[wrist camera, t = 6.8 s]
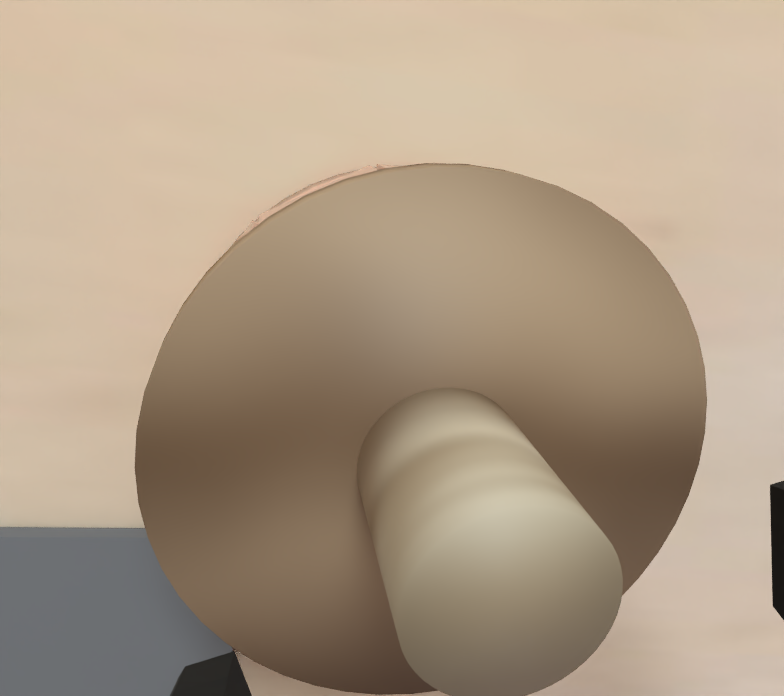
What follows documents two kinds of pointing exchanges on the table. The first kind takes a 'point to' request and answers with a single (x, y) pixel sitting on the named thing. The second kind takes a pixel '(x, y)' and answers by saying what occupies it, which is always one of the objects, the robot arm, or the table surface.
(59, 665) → the mat
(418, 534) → the lid
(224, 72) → the table surface
